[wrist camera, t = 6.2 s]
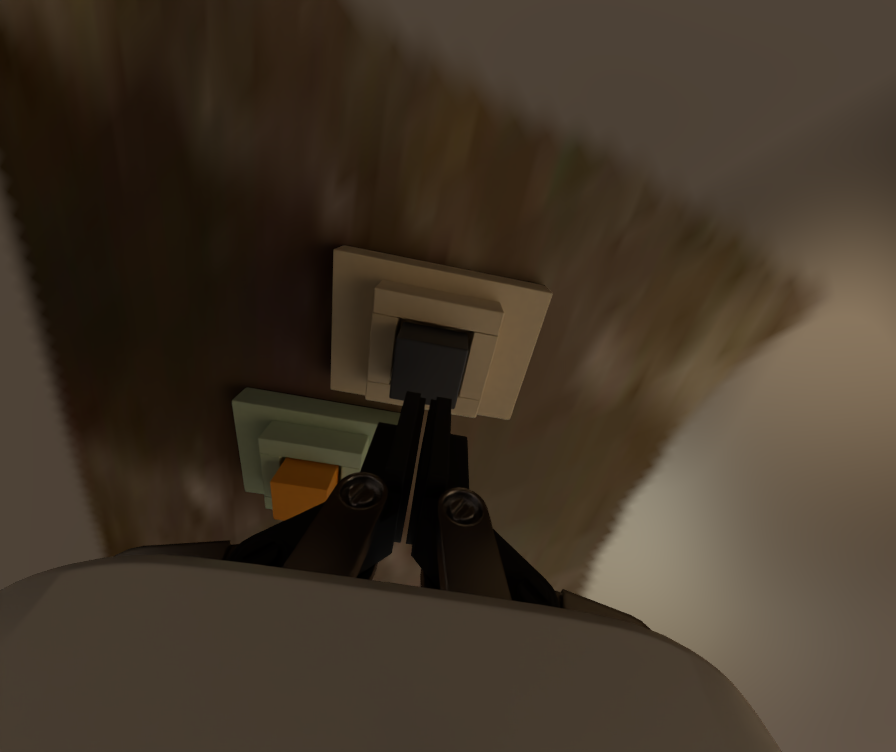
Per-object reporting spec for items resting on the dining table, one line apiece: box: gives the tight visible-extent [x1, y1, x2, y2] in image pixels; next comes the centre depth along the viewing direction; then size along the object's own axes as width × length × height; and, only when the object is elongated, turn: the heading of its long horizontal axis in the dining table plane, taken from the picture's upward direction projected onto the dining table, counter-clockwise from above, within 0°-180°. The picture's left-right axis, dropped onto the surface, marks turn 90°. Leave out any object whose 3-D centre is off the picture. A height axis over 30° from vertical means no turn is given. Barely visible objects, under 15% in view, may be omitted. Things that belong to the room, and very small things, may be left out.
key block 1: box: [232, 387, 400, 509], centre depth 22 cm, size 11×8×4 cm
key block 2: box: [330, 245, 552, 420], centre depth 18 cm, size 11×8×4 cm
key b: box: [270, 457, 339, 521], centre depth 20 cm, size 3×3×2 cm
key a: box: [389, 322, 469, 409], centre depth 16 cm, size 3×3×2 cm
